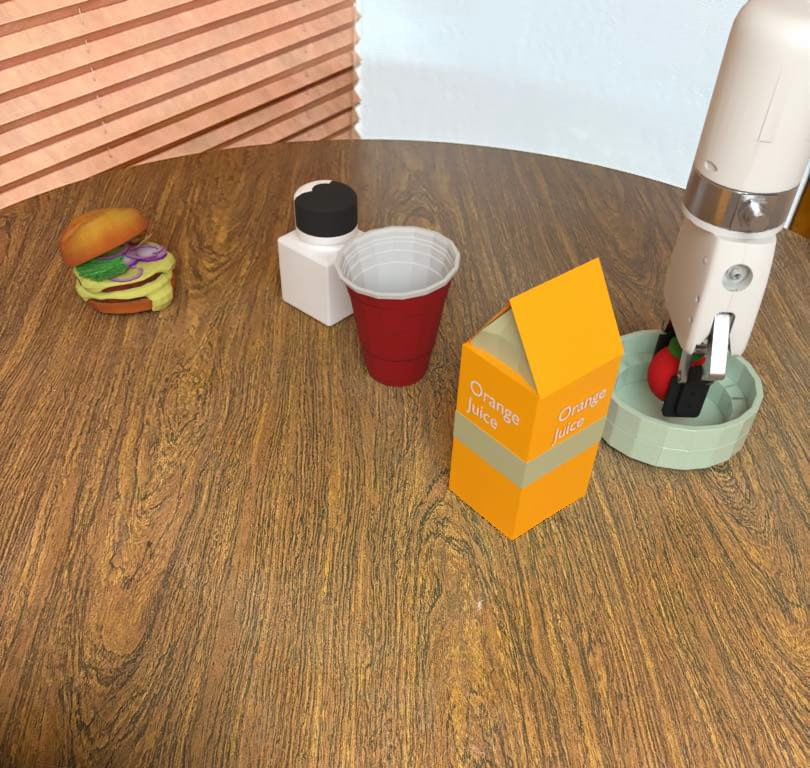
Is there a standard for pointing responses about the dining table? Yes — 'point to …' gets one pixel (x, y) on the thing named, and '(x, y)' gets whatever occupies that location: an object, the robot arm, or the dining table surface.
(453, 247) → the plastic cup
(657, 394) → the red tomato
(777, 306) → the dining table surface
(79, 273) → the cheeseburger
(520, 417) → the orange juice
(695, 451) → the bowl
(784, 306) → the dining table surface
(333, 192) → the medicine bottle
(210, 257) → the dining table surface
